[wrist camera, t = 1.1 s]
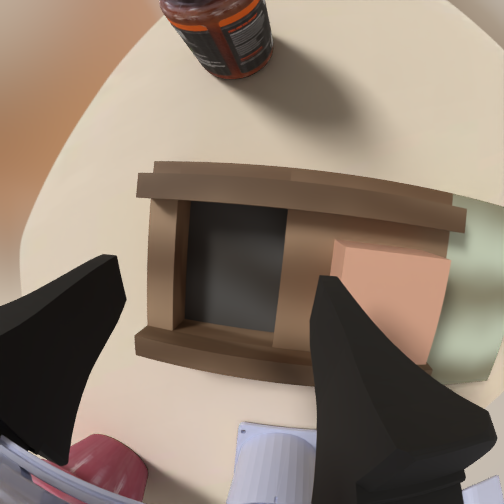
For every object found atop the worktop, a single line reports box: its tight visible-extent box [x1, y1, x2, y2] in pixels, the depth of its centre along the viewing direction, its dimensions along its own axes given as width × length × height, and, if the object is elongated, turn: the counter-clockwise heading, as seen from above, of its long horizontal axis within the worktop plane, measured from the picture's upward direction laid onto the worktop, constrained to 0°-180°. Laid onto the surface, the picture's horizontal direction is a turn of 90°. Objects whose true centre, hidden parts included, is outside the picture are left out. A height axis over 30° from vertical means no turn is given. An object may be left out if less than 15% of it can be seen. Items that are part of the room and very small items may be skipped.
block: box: [330, 239, 451, 365], centre depth 16 cm, size 6×6×4 cm
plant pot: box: [31, 434, 148, 504], centre depth 21 cm, size 14×14×13 cm
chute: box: [135, 161, 504, 387], centre depth 18 cm, size 14×28×5 cm, turn 85°
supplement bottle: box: [159, 0, 273, 79], centre depth 14 cm, size 6×6×11 cm
